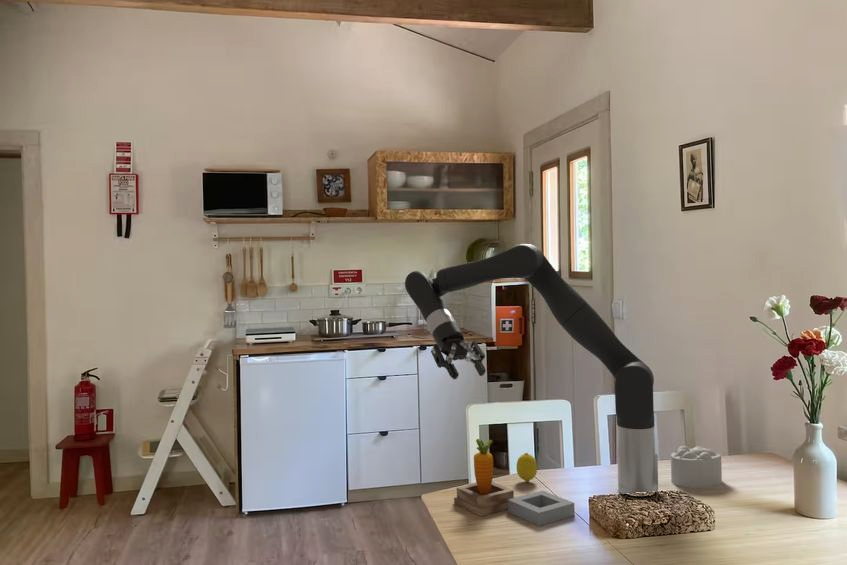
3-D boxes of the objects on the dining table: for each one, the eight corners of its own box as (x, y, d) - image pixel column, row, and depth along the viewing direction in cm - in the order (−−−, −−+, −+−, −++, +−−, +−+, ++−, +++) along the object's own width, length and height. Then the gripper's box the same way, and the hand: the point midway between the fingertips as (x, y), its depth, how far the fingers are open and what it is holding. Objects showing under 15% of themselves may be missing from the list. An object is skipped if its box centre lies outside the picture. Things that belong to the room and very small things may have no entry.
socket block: (542, 502, 167) (542, 490, 167) (574, 515, 157) (574, 502, 157) (508, 512, 161) (507, 499, 161) (539, 526, 151) (538, 512, 151)
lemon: (536, 479, 185) (536, 450, 185) (538, 485, 180) (537, 455, 180) (516, 478, 186) (515, 450, 186) (517, 485, 180) (516, 455, 180)
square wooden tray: (489, 494, 173) (488, 479, 173) (516, 506, 164) (516, 490, 164) (454, 503, 168) (453, 487, 168) (480, 516, 158) (480, 499, 158)
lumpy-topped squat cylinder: (727, 483, 178) (726, 450, 178) (690, 490, 173) (689, 457, 172) (697, 472, 187) (696, 441, 187) (661, 479, 182) (660, 447, 182)
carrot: (496, 496, 167) (495, 436, 167) (491, 503, 163) (490, 441, 163) (477, 494, 169) (475, 435, 169) (471, 501, 164) (470, 440, 164)
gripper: (427, 321, 178) (453, 369, 169) (470, 318, 186) (497, 364, 176) (417, 340, 183) (441, 387, 173) (460, 336, 190) (485, 381, 181)
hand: (470, 375), depth 175 cm, fingers open, 8 cm apart
